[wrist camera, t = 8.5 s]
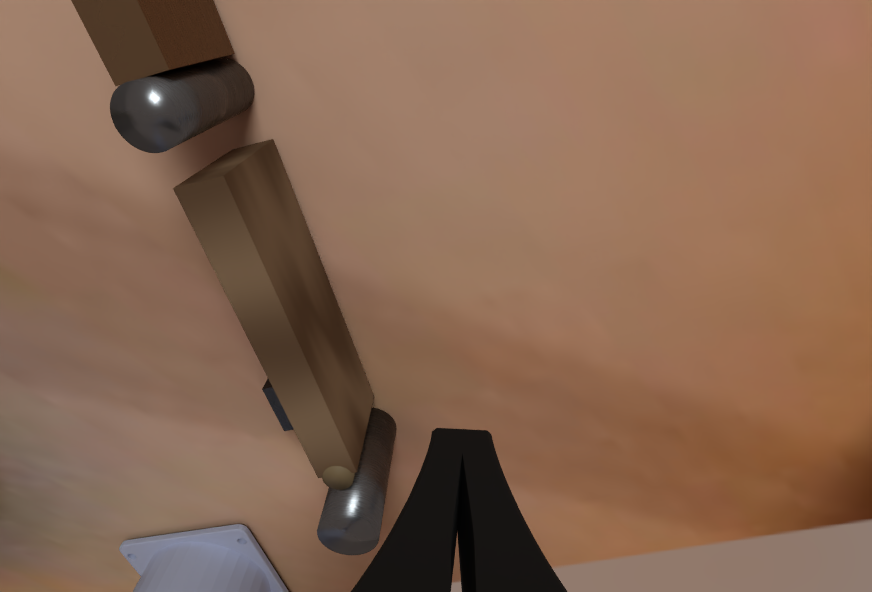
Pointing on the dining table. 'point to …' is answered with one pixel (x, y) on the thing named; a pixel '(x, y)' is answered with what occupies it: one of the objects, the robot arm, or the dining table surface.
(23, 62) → the dining table surface
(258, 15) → the dining table surface
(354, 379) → the handle
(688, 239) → the dining table surface
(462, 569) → the robot arm
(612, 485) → the dining table surface
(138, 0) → the hammer
